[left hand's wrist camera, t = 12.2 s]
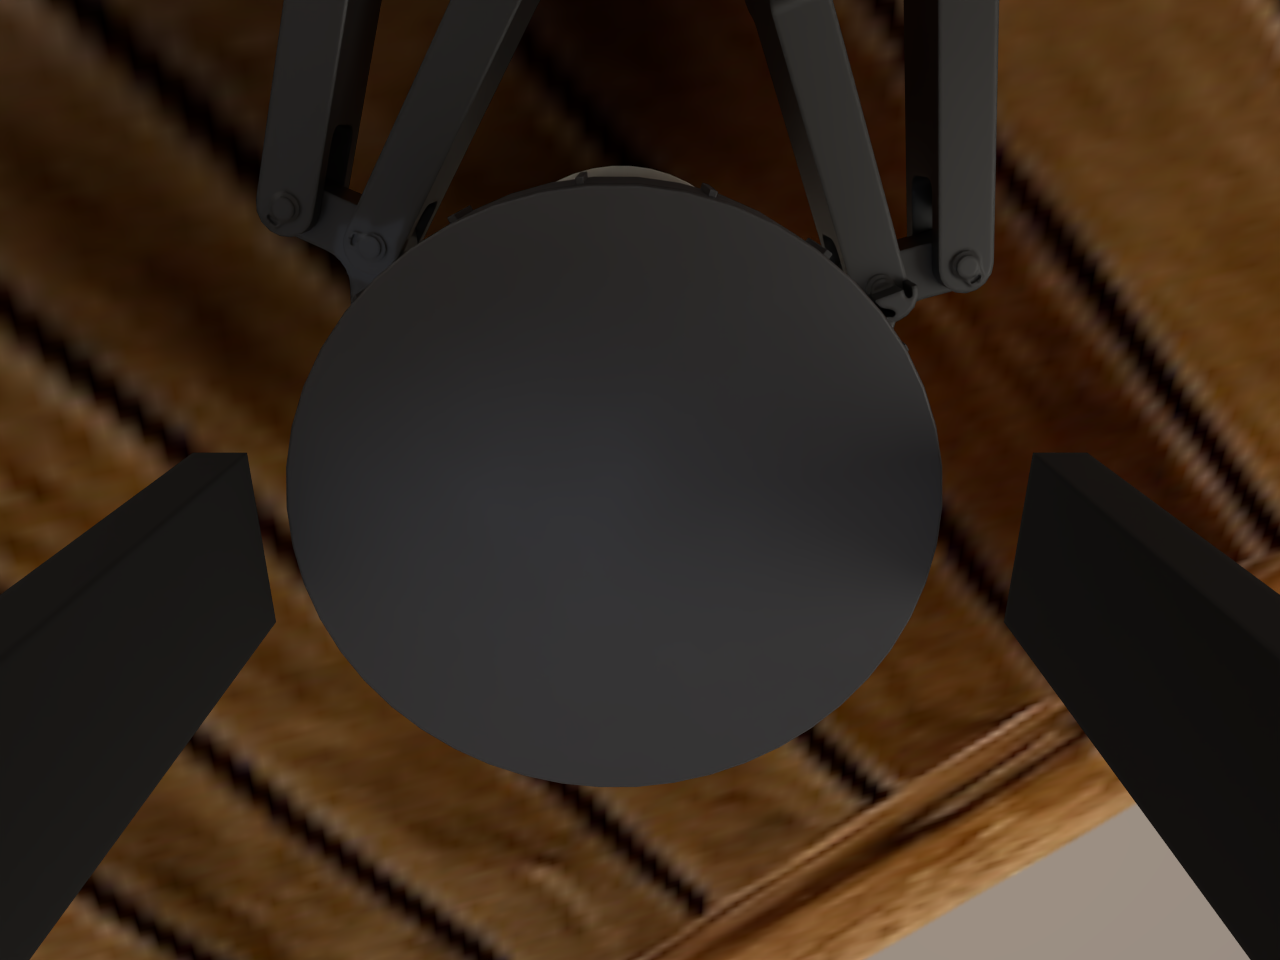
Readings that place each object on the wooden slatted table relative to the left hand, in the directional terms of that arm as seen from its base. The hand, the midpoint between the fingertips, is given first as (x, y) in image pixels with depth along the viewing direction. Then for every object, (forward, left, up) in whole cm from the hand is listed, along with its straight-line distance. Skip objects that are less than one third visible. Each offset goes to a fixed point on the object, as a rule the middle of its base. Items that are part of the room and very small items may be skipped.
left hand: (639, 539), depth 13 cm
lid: (0, 0, -1) cm, 1 cm away
